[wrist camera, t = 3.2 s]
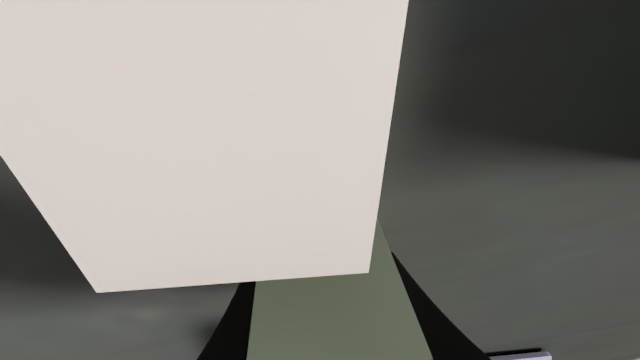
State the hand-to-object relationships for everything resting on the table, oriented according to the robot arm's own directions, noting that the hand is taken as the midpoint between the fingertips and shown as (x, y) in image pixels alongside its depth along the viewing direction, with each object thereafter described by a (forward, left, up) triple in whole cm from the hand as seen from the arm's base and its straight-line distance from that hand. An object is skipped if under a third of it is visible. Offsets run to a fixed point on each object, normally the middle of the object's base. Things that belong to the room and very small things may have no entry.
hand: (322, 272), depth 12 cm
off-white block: (+8, +2, -2) cm, 8 cm away
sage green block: (0, 0, -1) cm, 1 cm away
